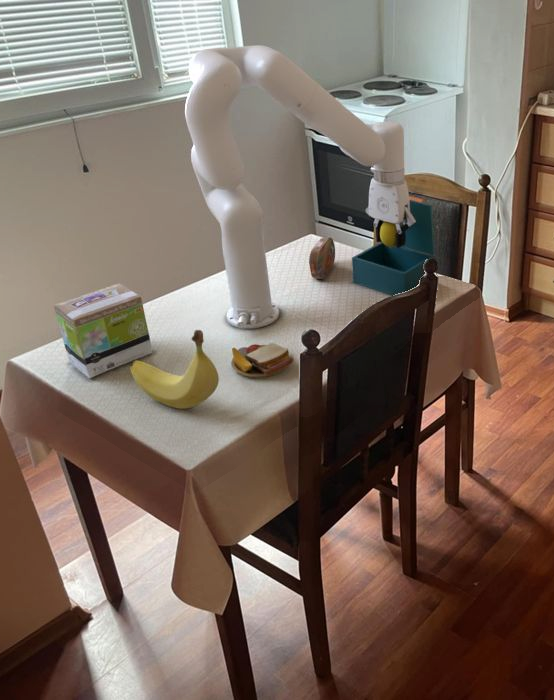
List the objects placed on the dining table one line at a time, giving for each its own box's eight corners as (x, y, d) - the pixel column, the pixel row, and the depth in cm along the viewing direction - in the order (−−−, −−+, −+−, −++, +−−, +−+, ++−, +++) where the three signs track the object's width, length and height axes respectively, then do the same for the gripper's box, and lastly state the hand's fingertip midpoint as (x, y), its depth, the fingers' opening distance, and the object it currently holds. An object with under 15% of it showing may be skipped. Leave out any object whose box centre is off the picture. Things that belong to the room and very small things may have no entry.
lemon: (394, 254, 184) (393, 224, 179) (376, 249, 186) (375, 220, 182) (405, 246, 188) (405, 217, 183) (388, 242, 190) (387, 213, 186)
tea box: (90, 380, 153) (72, 320, 145) (69, 363, 159) (50, 304, 151) (154, 353, 162) (141, 294, 155) (132, 337, 168) (118, 280, 160)
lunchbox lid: (430, 206, 180) (442, 197, 184) (376, 192, 189) (389, 184, 192) (433, 255, 189) (444, 245, 192) (381, 240, 197) (393, 231, 201)
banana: (127, 395, 148) (105, 310, 138) (148, 381, 153) (128, 298, 142) (211, 428, 139) (194, 339, 129) (231, 412, 144) (216, 325, 133)
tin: (320, 284, 191) (317, 255, 187) (308, 283, 192) (306, 254, 188) (336, 260, 204) (335, 233, 199) (326, 260, 204) (324, 232, 200)
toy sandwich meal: (273, 343, 166) (271, 325, 163) (302, 369, 157) (300, 350, 154) (222, 361, 160) (219, 342, 157) (249, 389, 150) (246, 370, 148)
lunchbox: (405, 299, 184) (404, 274, 180) (353, 282, 192) (351, 257, 188) (433, 281, 193) (434, 256, 189) (383, 265, 201) (382, 241, 198)
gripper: (352, 172, 178) (355, 240, 188) (408, 185, 170) (409, 256, 179) (371, 164, 183) (373, 231, 193) (426, 177, 175) (426, 246, 184)
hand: (390, 242), depth 186 cm, fingers closed on lemon, 5 cm apart
